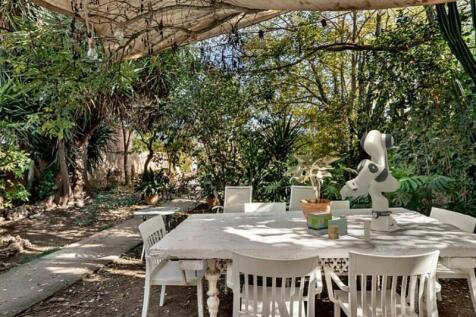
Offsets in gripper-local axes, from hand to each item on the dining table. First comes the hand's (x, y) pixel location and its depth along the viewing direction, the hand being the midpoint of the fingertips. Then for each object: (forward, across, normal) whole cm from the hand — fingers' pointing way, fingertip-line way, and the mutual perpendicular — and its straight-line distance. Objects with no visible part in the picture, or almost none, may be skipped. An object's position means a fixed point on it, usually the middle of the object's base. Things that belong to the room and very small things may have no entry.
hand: (348, 198), depth 240 cm
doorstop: (+26, +4, +12) cm, 29 cm away
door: (+29, -3, +9) cm, 30 cm away
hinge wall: (+31, -10, +8) cm, 34 cm away
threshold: (+23, -10, +16) cm, 30 cm away
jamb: (+15, -10, +23) cm, 30 cm away
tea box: (+38, +2, +1) cm, 38 cm away
